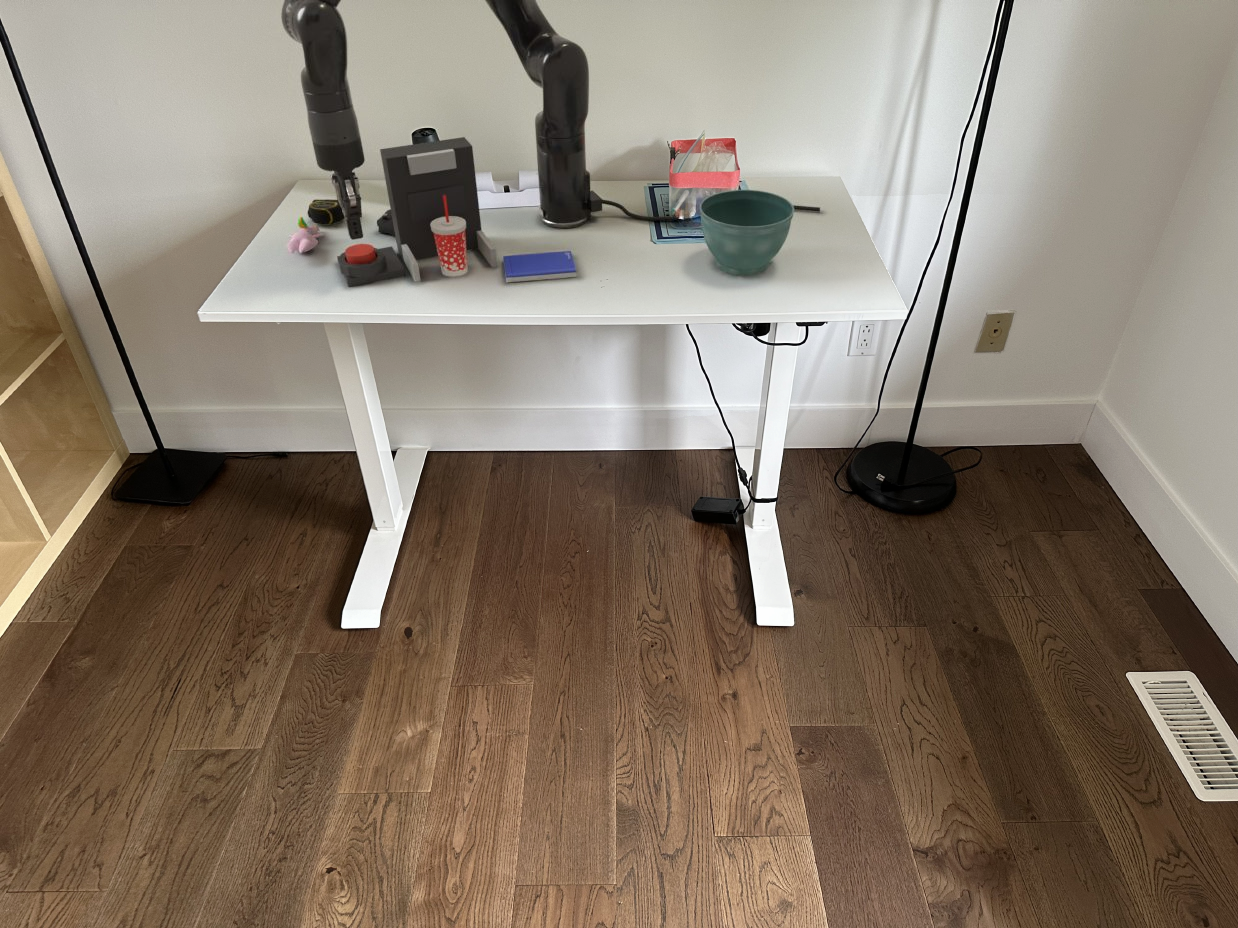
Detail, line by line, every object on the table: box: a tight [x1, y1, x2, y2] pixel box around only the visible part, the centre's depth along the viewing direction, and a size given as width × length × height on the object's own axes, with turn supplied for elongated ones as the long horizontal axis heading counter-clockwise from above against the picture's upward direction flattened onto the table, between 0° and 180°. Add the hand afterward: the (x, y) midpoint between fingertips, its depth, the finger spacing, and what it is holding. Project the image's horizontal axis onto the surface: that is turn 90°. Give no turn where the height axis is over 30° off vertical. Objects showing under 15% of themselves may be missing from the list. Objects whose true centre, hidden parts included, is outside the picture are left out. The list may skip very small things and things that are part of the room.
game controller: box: [376, 208, 396, 238], centre depth 168 cm, size 10×5×6 cm
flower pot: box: [699, 189, 795, 276], centre depth 153 cm, size 16×16×11 cm
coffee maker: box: [379, 136, 498, 283], centre depth 153 cm, size 15×14×19 cm
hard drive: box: [502, 250, 578, 283], centre depth 154 cm, size 2×8×12 cm
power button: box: [344, 243, 376, 264], centre depth 151 cm, size 5×5×2 cm
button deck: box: [336, 246, 406, 288], centre depth 154 cm, size 10×10×4 cm
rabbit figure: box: [286, 216, 324, 255], centre depth 160 cm, size 6×6×15 cm
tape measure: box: [307, 199, 346, 226], centre depth 171 cm, size 7×7×4 cm
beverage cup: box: [430, 194, 469, 278], centre depth 150 cm, size 6×6×14 cm
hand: (356, 237), depth 149 cm, fingers closed
